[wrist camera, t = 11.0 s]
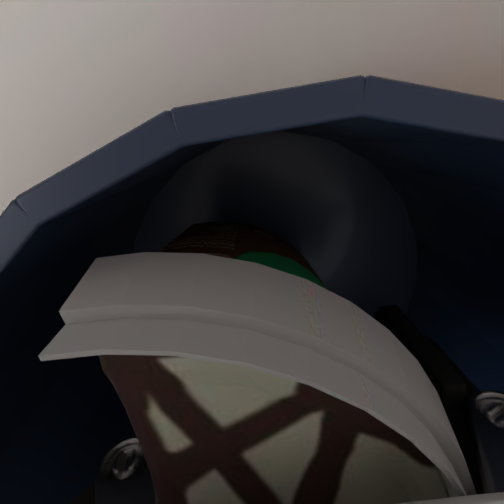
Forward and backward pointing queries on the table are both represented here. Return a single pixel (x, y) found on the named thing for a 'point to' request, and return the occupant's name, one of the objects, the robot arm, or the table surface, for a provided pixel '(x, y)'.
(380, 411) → the food container
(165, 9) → the table surface
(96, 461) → the pot
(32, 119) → the table surface
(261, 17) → the table surface
